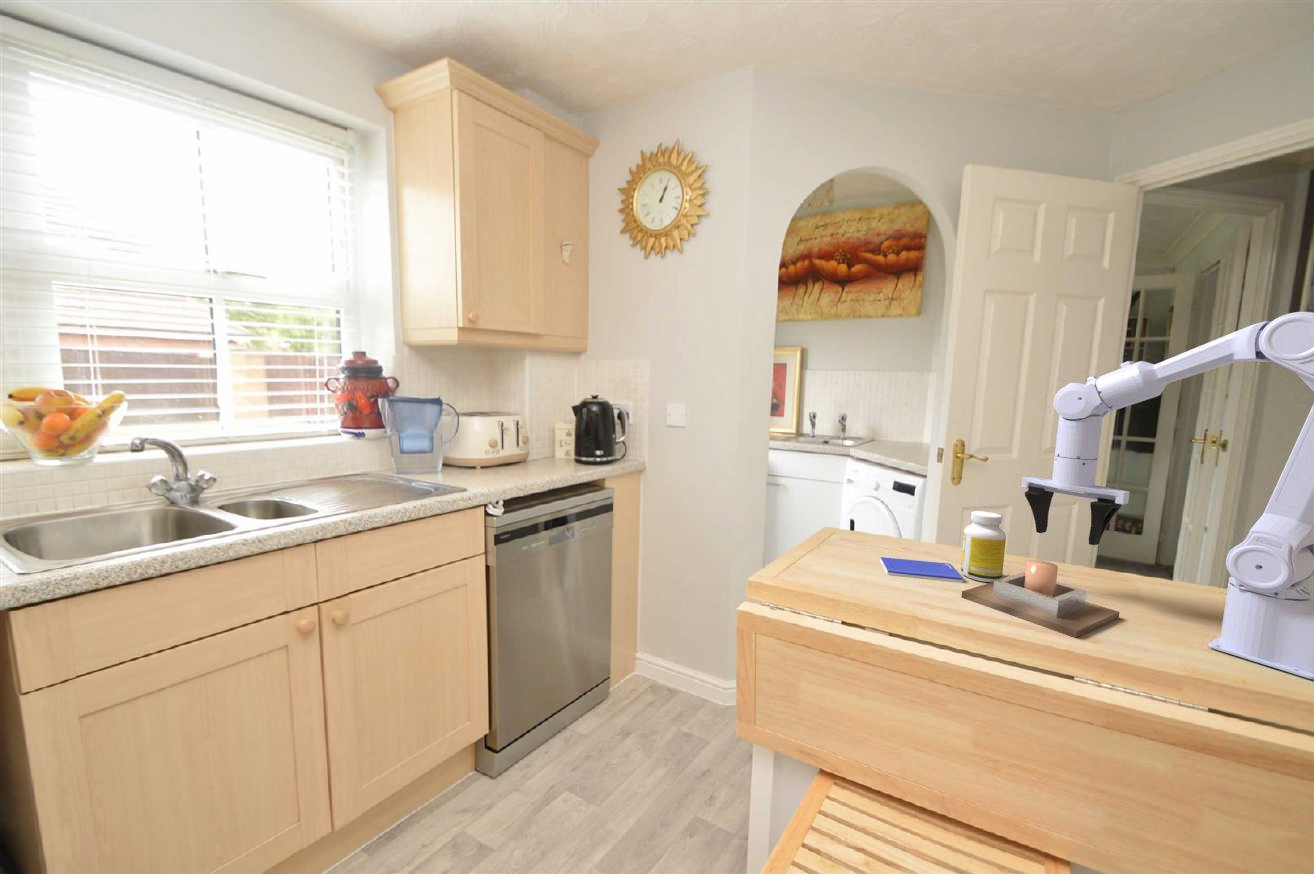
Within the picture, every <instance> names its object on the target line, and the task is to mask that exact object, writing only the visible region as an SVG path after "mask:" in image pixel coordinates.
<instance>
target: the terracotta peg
mask: <svg viewBox="0 0 1314 874" xmlns="http://www.w3.org/2000/svg"><path fill="white" fill-rule="evenodd" d="M1058 569H1059V566H1058V565H1057V564H1055V563H1052V562H1049V561H1045V560H1042V559H1041V560H1039V559H1027V560H1026V566H1025V573H1026V574H1025V583H1024V588H1025V589H1029V590H1032V591H1035V592H1038V593H1041V594H1045V595H1048V596H1051V597H1055V590H1056V582H1057V581H1058V580H1057V579H1058V572H1059V571H1058Z"/></svg>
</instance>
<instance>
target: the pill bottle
mask: <svg viewBox="0 0 1314 874" xmlns="http://www.w3.org/2000/svg"><path fill="white" fill-rule="evenodd" d="M1002 518H1003V517H1002V515H1001V514H999V513H995V512H989V511H982V510H975V511H971V515H970V520H971V521H972V523H971V524H969V525H967V526H965V528H964V531H963V540H962V541H963V543H962V550H961V552H962V553H961V554H962V555H961V565H960V572H961V574H962V576H965V577H966V578H969V579H971V580H975V581H979V582H984V583H985V582H986V583H992V582H994V581H995V580H999V579H1002V578H1003V571H1004V562H1005V551H1006V550H1005V549H1006V540H1007V535H1006V532H1005V531H1004V530H1003V529H1002V528H1000V525H1001V524H1002Z"/></svg>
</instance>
